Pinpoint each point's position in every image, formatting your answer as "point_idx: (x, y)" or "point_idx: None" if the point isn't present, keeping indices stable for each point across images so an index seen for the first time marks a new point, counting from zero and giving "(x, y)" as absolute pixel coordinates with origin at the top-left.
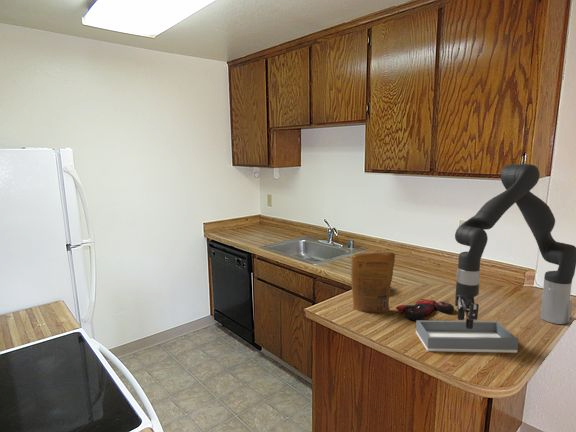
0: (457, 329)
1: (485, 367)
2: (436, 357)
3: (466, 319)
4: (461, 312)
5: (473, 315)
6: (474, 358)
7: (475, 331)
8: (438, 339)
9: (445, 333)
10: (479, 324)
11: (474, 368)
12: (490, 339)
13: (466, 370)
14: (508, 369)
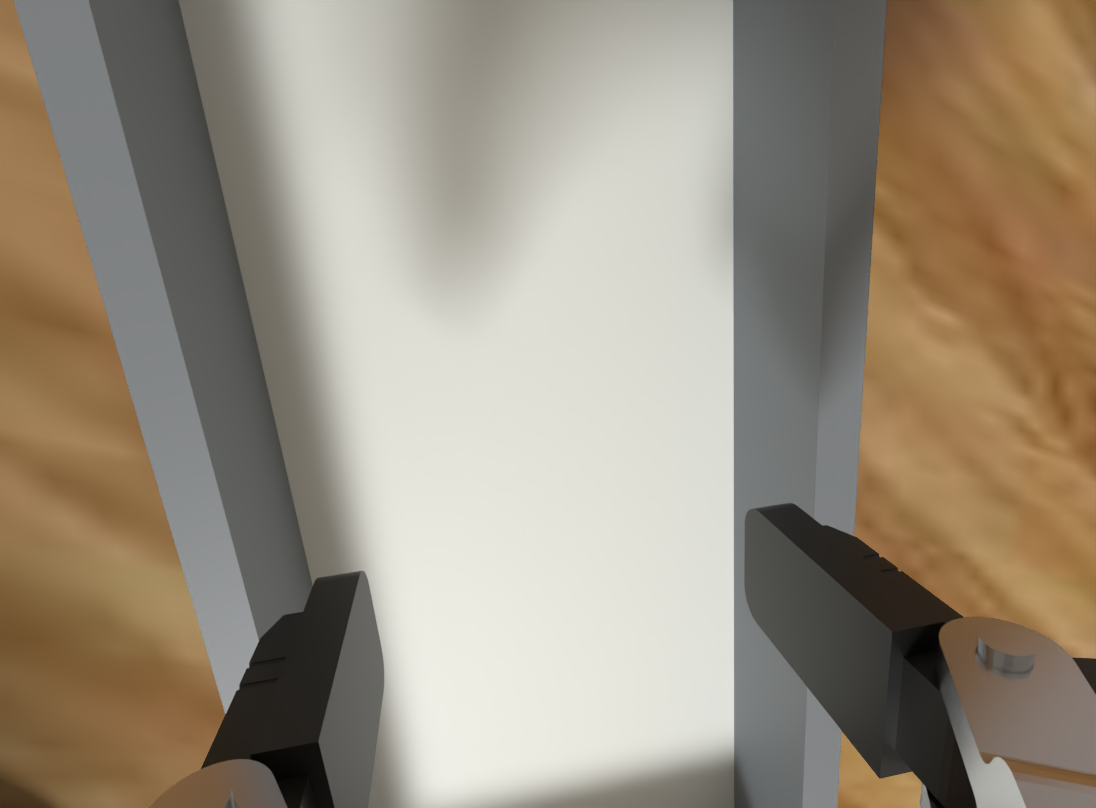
0: (281, 505)
1: (1032, 371)
2: (849, 749)
3: (872, 750)
4: (346, 774)
5: (1094, 733)
6: (876, 427)
7: (224, 208)
8: None
9: (385, 645)
10: (144, 120)
11: (1034, 478)
12: (868, 193)
13: (1053, 552)
14: (1092, 138)
